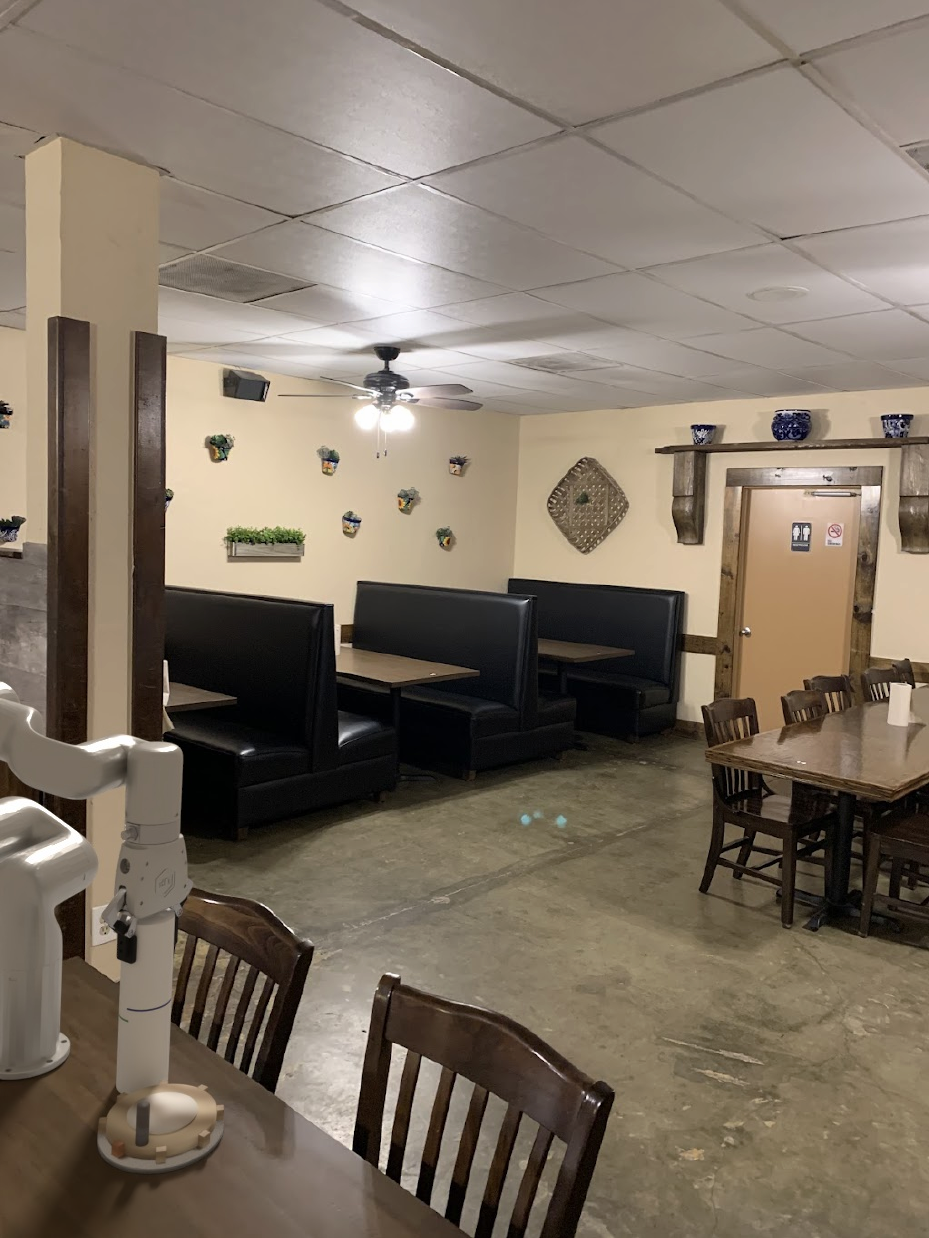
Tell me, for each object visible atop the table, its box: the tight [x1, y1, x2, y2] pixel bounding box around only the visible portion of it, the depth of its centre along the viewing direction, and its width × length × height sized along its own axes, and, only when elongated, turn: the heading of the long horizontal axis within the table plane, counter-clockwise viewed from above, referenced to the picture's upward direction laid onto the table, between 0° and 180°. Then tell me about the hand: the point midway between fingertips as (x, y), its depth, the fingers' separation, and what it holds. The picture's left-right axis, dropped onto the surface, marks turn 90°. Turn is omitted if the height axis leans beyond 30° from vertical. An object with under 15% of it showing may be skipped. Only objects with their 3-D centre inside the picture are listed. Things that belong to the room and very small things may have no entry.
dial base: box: [96, 1118, 225, 1175], centre depth 126 cm, size 16×16×1 cm
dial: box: [97, 1079, 225, 1163], centre depth 125 cm, size 15×15×6 cm
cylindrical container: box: [115, 908, 175, 1094], centre depth 136 cm, size 7×7×25 cm
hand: (147, 950), depth 135 cm, fingers closed on cylindrical container, 7 cm apart
